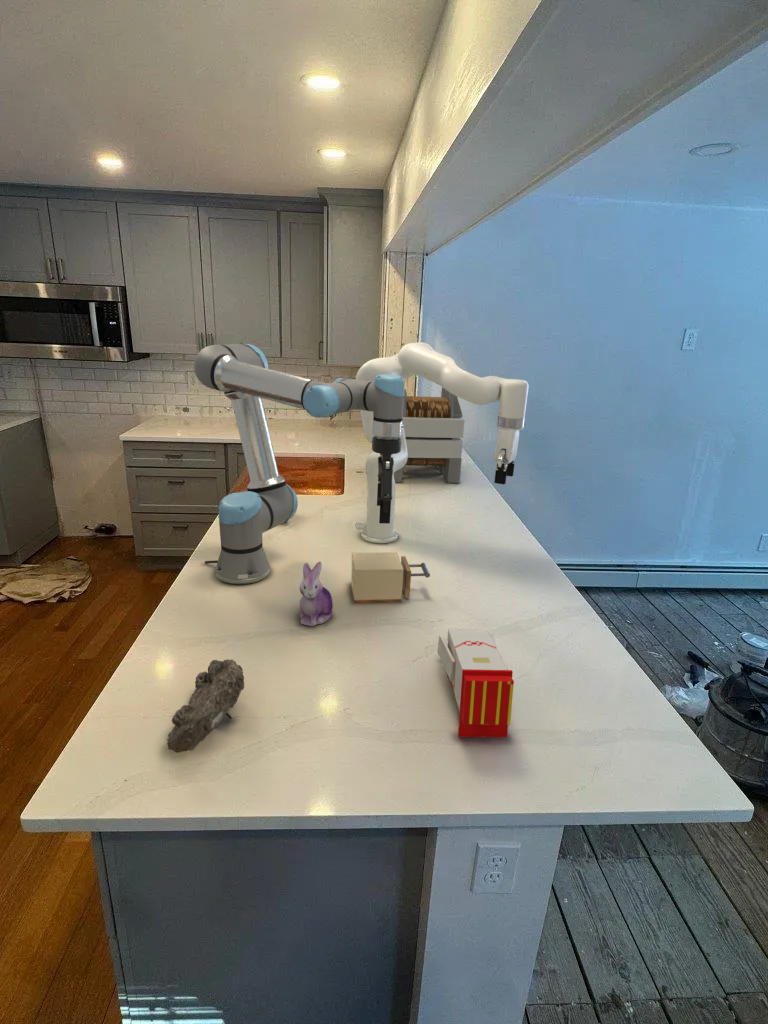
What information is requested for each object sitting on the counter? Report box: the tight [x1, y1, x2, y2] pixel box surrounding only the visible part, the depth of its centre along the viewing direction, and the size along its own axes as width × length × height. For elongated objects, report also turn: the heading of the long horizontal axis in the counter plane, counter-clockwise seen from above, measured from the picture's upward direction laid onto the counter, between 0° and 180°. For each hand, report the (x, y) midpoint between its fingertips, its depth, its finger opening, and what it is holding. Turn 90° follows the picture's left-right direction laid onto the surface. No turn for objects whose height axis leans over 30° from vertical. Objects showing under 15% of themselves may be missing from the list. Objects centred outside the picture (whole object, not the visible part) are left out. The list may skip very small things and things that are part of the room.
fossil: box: [166, 658, 245, 754], centre depth 106 cm, size 22×10×15 cm
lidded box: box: [350, 551, 403, 604], centre depth 156 cm, size 13×11×10 cm
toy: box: [437, 628, 515, 738], centre depth 117 cm, size 12×13×30 cm
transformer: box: [394, 386, 465, 484], centre depth 268 cm, size 34×33×41 cm
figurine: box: [299, 561, 334, 627], centre depth 141 cm, size 9×10×15 cm
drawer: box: [400, 555, 431, 599], centre depth 157 cm, size 17×10×8 cm, turn 97°
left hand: (382, 513), depth 153 cm, fingers open, 13 cm apart
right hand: (503, 479), depth 170 cm, fingers open, 9 cm apart
